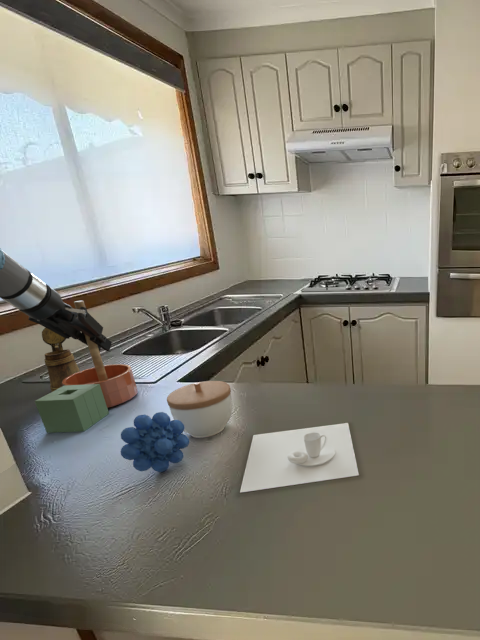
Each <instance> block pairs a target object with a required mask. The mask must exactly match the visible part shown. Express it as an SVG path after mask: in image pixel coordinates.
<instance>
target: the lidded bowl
mask: <svg viewBox="0 0 480 640" xmlns="http://www.w3.org/2000/svg"><path fill="white" fill-rule="evenodd" d="M166 403H167V405H168V407H169V410H170V414H171V416H172V419H173V420H179V421H181V422H182V423H183V424H184V427H185V428H184V431H183V433H186V434H188V435H190V436H191V437H193V438H197V439H204V438H209V437H213V436H216V435H218V434H219V433H221V432H223V431H224V429H225V428H226V425H227V424H228V423H229V421H230V419H231V417H232V413H233V398H232V390H231V385H230V384H229V383H228V382H225V381H222V380H206V381H205V380H204V381H199V382H198V381H197V382H193V383H189V384H187V385H184V386H181V387H178V388H177V389H175V390H173V391H172V392H170V393H169V394H168V396H167V397H166Z"/></svg>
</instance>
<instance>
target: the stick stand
mask: <svg viewBox="0 0 480 640" xmlns="http://www.w3.org/2000/svg"><path fill="white" fill-rule="evenodd" d="M34 403H35V406H36V409H37V411H38V415H39V416H40V420H41V421H42V424H43V426H44V430H45V433H47V434H51V433H53V434H55V433H79V432H86V431H88V429H90V428H91V427H93V426H94V425H96V424H97V423H98V422H100V421H101V420H103V419H104V418H105V417H107V416H108V415H110V412H109V408H107V405H106V402H105V399H104V396H103V393H102V390H101V387H100V384H87V385H65V386H62V387H60V388H59V389H57V390H55V391H53V392H52V391H51V392H49V393H48V394H45V395H44V396H42V397H40V398H38V399H36V400H34Z"/></svg>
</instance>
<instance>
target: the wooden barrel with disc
mask: <svg viewBox="0 0 480 640" xmlns="http://www.w3.org/2000/svg"><path fill="white" fill-rule="evenodd" d="M64 333H65V332H64ZM41 338H42V341H43V342H44V343H45V344H47V345H49V346H50V347H51V351H49V352H45V354H44V365H45V366H46V368H47V374H48V379H49V384H50V387H49V388H50V391H51V392H53V391H55V390H57V389H59V388H60V387H62V386H63V384H62V381H63V380H64V379H65V378H66V377H68V376H70V375H72V374H74V373H77V372H80V371H81V369H80V368H79V365H78V364H77V362H76V360H75V356H74V354H73V352H71V350H70V348H68V349H64V347H63V343H64V342H65V341H66V340H67V339H66V338H64V337H62V336H60V335H58V334H57V333H55V332H53V331H51V330H49V329H47V328H45V327H44V329H42V331H41Z"/></svg>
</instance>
